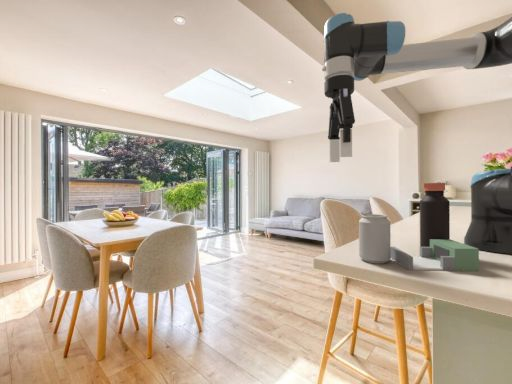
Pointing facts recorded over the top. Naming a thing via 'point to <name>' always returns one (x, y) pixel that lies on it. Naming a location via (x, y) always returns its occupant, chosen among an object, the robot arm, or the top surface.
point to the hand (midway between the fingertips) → (339, 159)
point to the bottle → (434, 214)
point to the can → (374, 238)
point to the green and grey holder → (440, 256)
